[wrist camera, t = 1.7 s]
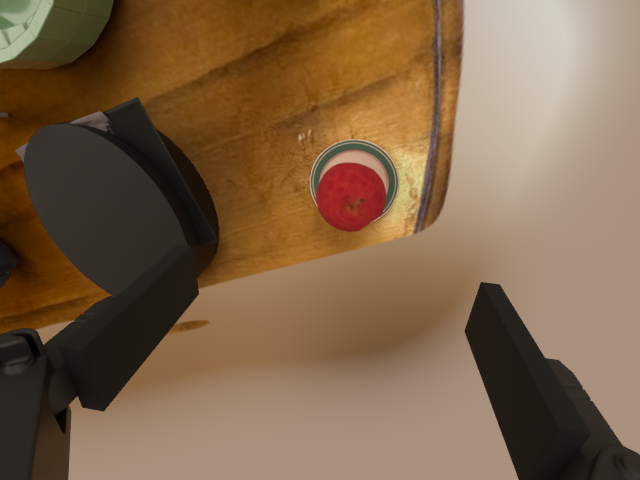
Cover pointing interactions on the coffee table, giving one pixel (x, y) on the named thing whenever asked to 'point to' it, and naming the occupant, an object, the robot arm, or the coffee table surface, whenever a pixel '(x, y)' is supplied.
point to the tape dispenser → (118, 195)
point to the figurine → (4, 114)
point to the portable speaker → (6, 262)
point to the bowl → (49, 31)
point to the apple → (353, 184)
